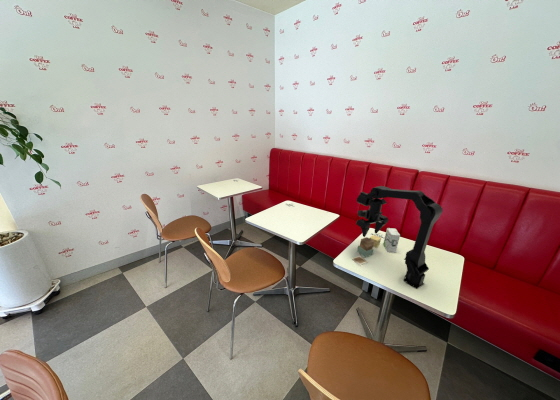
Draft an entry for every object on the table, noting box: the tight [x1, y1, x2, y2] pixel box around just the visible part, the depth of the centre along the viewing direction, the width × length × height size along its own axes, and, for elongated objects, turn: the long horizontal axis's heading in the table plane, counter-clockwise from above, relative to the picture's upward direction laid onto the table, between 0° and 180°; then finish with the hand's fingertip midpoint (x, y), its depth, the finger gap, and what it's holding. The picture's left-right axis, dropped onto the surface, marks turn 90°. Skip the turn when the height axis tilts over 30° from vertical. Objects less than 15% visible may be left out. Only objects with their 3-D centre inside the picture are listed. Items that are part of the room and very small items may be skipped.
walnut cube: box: [359, 236, 374, 251], centre depth 122 cm, size 5×5×5 cm
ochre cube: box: [369, 234, 382, 249], centre depth 133 cm, size 5×5×5 cm
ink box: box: [382, 227, 401, 253], centre depth 128 cm, size 9×5×12 cm, turn 172°
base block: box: [356, 245, 375, 258], centre depth 124 cm, size 6×6×4 cm
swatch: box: [351, 255, 368, 266], centre depth 118 cm, size 6×6×1 cm
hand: (369, 234), depth 120 cm, fingers open, 9 cm apart
